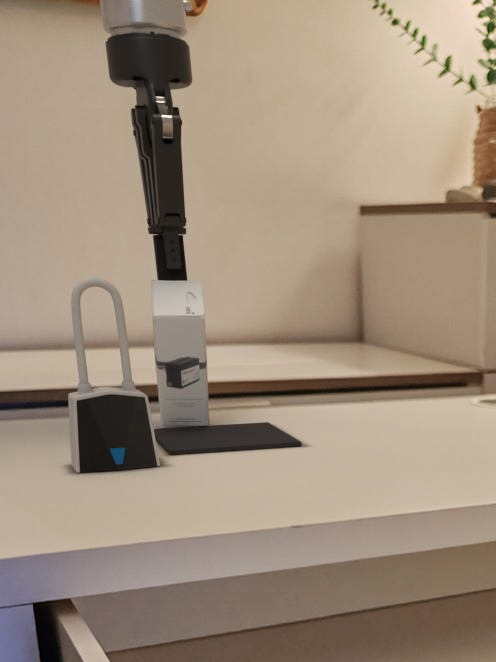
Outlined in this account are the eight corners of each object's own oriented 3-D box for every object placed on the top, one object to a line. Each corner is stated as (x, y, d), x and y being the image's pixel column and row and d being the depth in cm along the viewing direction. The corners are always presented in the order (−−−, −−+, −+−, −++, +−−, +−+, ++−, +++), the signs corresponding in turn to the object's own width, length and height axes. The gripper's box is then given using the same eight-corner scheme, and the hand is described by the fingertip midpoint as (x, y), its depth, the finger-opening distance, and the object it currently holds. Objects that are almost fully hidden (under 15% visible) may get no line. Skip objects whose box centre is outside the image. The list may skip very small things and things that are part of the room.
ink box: (157, 385, 109) (149, 277, 101) (205, 386, 110) (201, 278, 102) (159, 427, 103) (151, 315, 95) (210, 427, 104) (206, 316, 96)
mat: (149, 432, 103) (149, 428, 103) (268, 425, 108) (268, 422, 107) (170, 454, 92) (169, 450, 92) (301, 446, 96) (301, 441, 96)
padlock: (151, 458, 90) (132, 276, 85) (161, 466, 87) (142, 278, 81) (70, 464, 87) (45, 277, 82) (77, 473, 84) (51, 278, 78)
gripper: (201, 28, 92) (225, 305, 100) (176, 51, 103) (200, 300, 111) (113, 21, 89) (146, 308, 97) (97, 46, 100) (128, 302, 108)
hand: (175, 303), depth 104 cm, fingers closed
